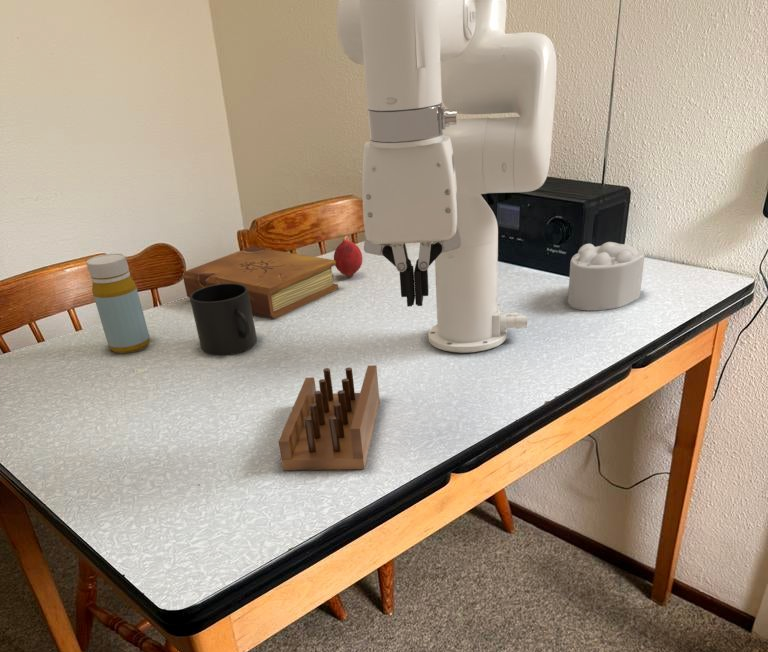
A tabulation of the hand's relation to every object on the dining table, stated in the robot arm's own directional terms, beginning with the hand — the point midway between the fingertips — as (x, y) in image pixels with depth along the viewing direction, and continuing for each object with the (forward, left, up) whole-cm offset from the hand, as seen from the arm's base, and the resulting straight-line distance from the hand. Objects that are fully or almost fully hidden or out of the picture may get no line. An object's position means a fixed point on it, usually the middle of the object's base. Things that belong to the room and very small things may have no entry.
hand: (415, 301), depth 87 cm
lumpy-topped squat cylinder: (-29, -47, -17) cm, 58 cm away
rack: (+11, 0, -17) cm, 21 cm away
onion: (+18, -66, -17) cm, 71 cm away
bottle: (+52, -33, -17) cm, 64 cm away
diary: (+34, -57, -17) cm, 69 cm away
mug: (+33, -31, -17) cm, 49 cm away
